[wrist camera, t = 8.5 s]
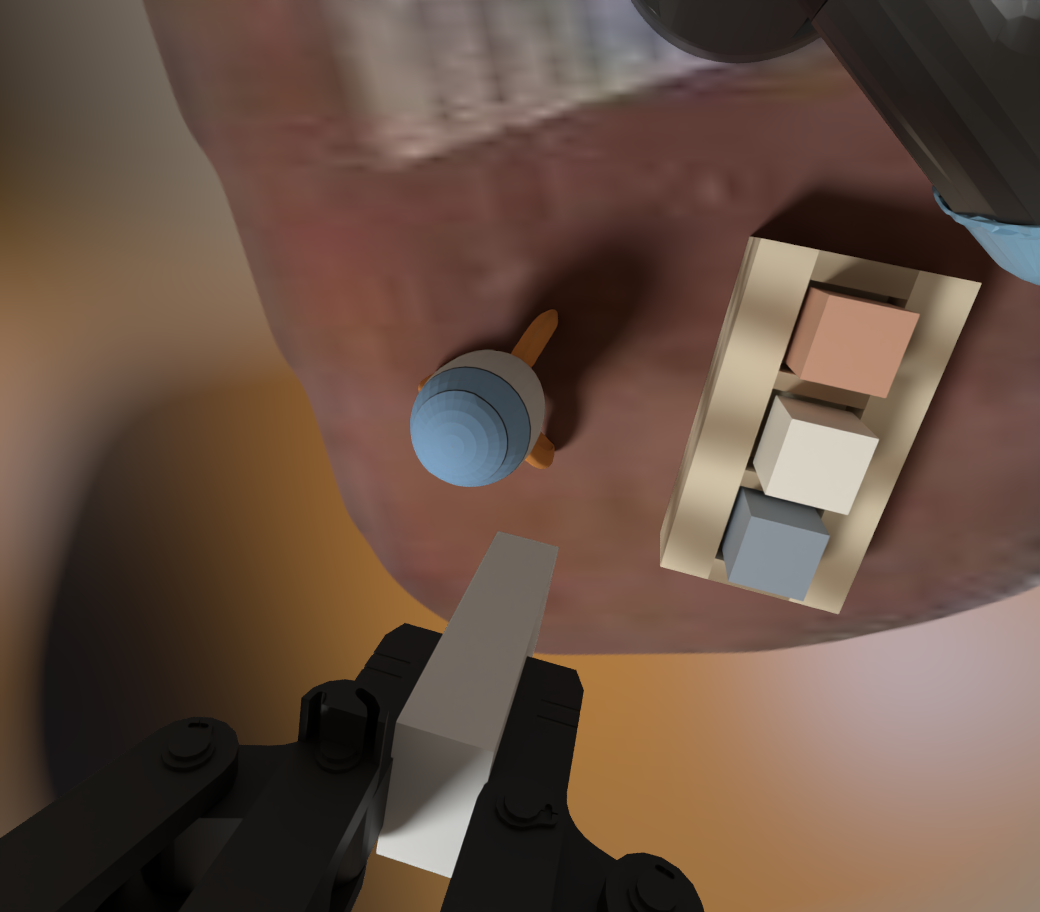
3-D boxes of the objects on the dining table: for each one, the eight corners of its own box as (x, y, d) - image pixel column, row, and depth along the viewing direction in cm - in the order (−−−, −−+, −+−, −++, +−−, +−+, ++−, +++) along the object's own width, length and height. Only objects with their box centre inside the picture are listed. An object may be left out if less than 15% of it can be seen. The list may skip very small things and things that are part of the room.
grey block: (741, 482, 41) (751, 515, 36) (810, 500, 40) (830, 535, 36) (720, 542, 42) (728, 581, 38) (787, 559, 42) (803, 601, 37)
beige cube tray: (749, 236, 39) (761, 238, 35) (942, 275, 38) (981, 283, 33) (660, 532, 46) (660, 566, 42) (820, 574, 45) (838, 614, 41)
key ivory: (776, 394, 38) (792, 418, 33) (852, 412, 37) (879, 439, 32) (752, 462, 39) (765, 494, 34) (825, 480, 39) (847, 515, 34)
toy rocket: (585, 451, 47) (501, 575, 34) (449, 425, 50) (328, 530, 38) (595, 306, 42) (501, 389, 30) (444, 289, 45) (303, 357, 33)
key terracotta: (808, 286, 36) (829, 294, 32) (887, 302, 36) (920, 314, 31) (783, 359, 38) (799, 378, 33) (858, 376, 38) (885, 398, 33)
